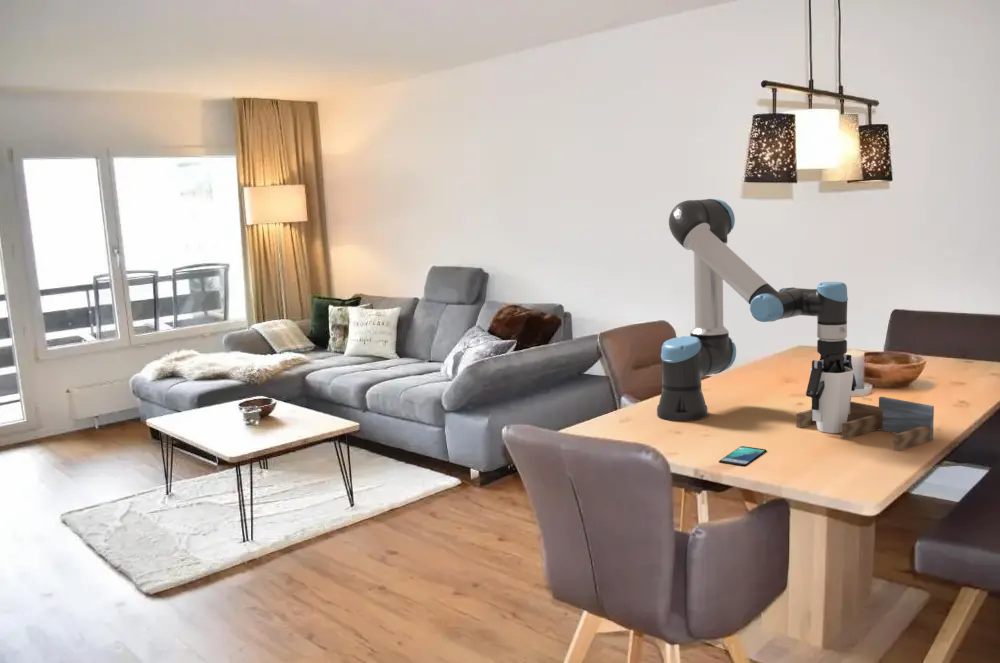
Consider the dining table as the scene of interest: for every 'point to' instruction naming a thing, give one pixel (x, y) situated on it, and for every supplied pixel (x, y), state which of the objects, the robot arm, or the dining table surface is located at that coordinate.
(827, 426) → the cup
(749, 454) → the smartphone
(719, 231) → the robot arm
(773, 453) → the dining table surface
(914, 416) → the wooden divider rack
